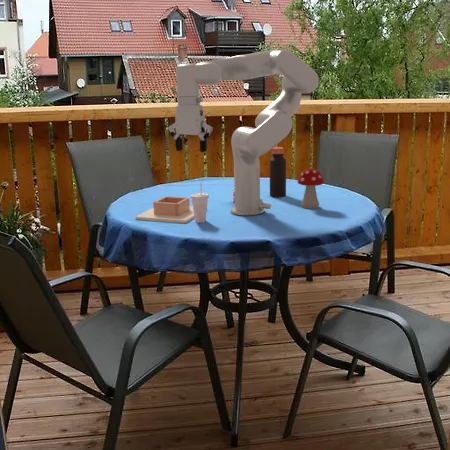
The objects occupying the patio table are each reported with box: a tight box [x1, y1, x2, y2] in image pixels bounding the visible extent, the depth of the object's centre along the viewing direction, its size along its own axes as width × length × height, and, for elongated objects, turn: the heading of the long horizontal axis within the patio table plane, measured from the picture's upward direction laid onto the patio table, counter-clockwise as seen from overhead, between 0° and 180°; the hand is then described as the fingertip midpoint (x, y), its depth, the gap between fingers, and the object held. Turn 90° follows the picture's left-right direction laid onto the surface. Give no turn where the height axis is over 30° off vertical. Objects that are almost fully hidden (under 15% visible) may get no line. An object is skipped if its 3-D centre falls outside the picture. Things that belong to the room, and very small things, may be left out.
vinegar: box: [269, 146, 287, 198], centre depth 246 cm, size 7×7×20 cm
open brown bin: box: [135, 196, 195, 224], centre depth 223 cm, size 20×20×6 cm
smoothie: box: [190, 182, 209, 223], centre depth 212 cm, size 6×6×14 cm
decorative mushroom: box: [297, 167, 325, 210], centre depth 227 cm, size 10×9×15 cm
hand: (191, 151), depth 210 cm, fingers open, 9 cm apart
